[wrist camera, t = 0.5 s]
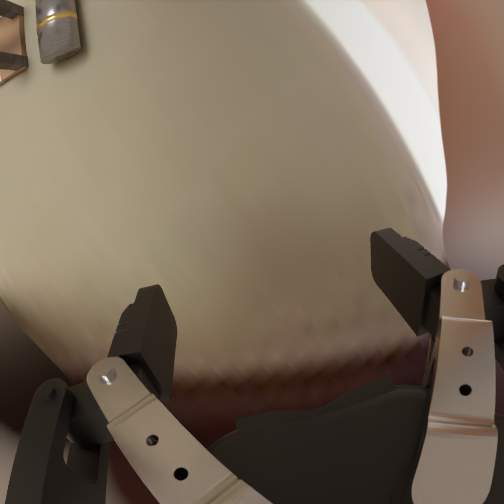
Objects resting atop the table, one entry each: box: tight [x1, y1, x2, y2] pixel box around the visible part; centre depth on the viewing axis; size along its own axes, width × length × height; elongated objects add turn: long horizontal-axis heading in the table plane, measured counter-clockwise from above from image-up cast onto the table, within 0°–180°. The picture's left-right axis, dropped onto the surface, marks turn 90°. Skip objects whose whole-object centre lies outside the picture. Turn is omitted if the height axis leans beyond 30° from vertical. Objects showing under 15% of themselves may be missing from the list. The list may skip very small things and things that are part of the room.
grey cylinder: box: [35, 0, 81, 64], centre depth 22 cm, size 11×5×5 cm, turn 12°
